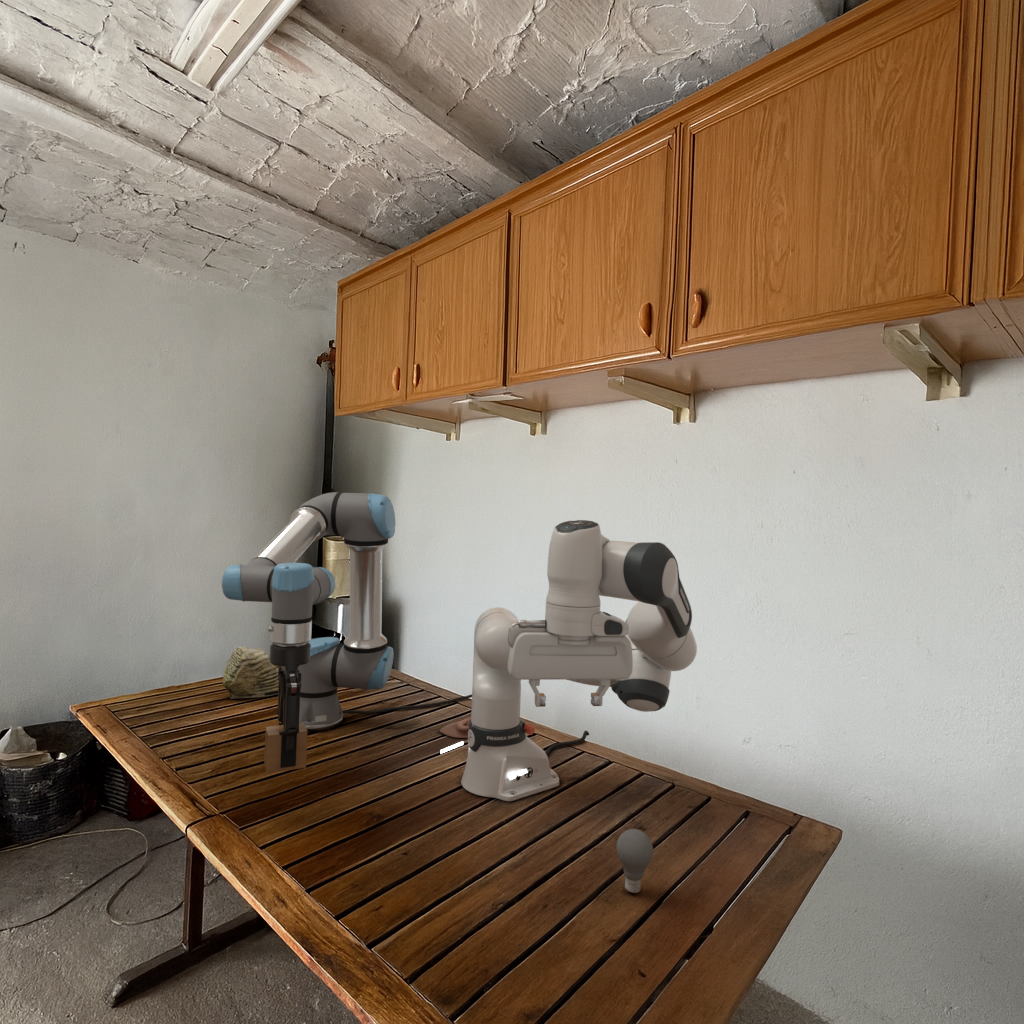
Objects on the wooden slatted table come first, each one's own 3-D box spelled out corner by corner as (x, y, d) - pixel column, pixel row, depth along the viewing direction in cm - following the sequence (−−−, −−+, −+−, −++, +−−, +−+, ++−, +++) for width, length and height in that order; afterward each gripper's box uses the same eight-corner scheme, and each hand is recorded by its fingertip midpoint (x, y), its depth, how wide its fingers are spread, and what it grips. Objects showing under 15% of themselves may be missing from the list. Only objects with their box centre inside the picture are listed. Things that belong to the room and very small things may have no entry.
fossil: (218, 695, 195) (220, 647, 195) (278, 685, 208) (279, 640, 207) (228, 703, 189) (230, 653, 188) (289, 692, 201) (290, 645, 201)
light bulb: (610, 879, 108) (613, 822, 108) (644, 879, 109) (647, 822, 109) (619, 902, 102) (622, 840, 102) (655, 901, 103) (658, 840, 103)
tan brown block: (264, 763, 125) (265, 726, 125) (302, 758, 128) (303, 722, 128) (266, 773, 120) (268, 735, 120) (306, 767, 124) (307, 730, 124)
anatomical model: (436, 720, 170) (448, 707, 182) (435, 735, 170) (448, 721, 182) (483, 726, 168) (493, 712, 179) (483, 741, 168) (493, 726, 179)
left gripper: (265, 634, 130) (261, 746, 131) (275, 654, 114) (270, 782, 115) (303, 632, 134) (299, 741, 134) (318, 651, 118) (313, 776, 118)
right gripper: (512, 623, 98) (508, 712, 98) (638, 625, 101) (634, 711, 101) (505, 616, 104) (502, 699, 104) (624, 617, 107) (621, 698, 108)
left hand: (286, 760), depth 124 cm, fingers closed on tan brown block, 5 cm apart
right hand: (568, 705), depth 103 cm, fingers open, 8 cm apart
